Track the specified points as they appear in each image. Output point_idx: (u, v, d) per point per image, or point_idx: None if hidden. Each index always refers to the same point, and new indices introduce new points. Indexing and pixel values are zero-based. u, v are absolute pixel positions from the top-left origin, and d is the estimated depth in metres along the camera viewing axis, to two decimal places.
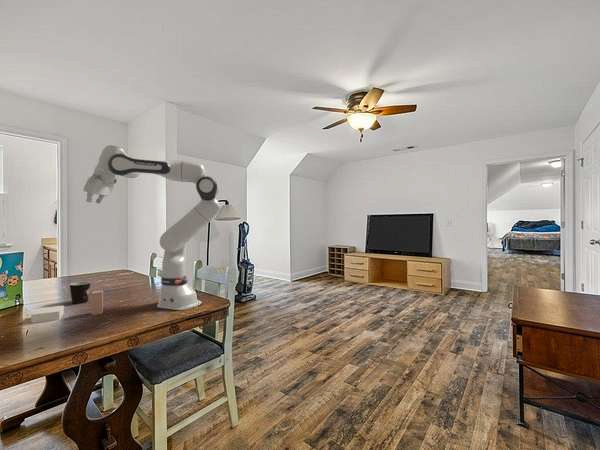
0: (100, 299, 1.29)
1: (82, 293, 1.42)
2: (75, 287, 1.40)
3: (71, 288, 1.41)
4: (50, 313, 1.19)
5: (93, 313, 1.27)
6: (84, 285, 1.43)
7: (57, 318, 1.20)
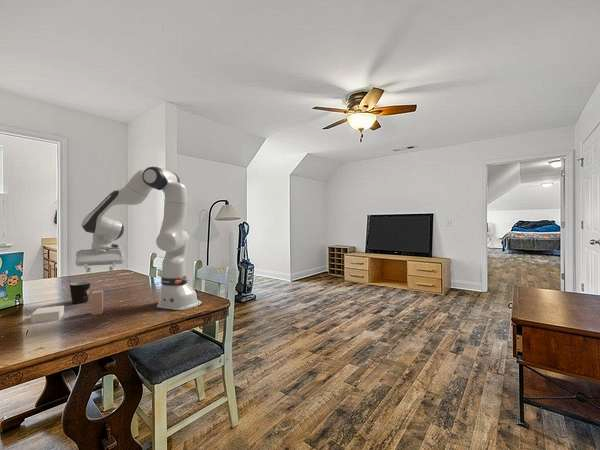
0: (100, 299, 1.29)
1: (82, 293, 1.42)
2: (75, 287, 1.40)
3: (71, 288, 1.41)
4: (49, 313, 1.19)
5: (93, 313, 1.27)
6: (84, 285, 1.43)
7: (57, 318, 1.20)
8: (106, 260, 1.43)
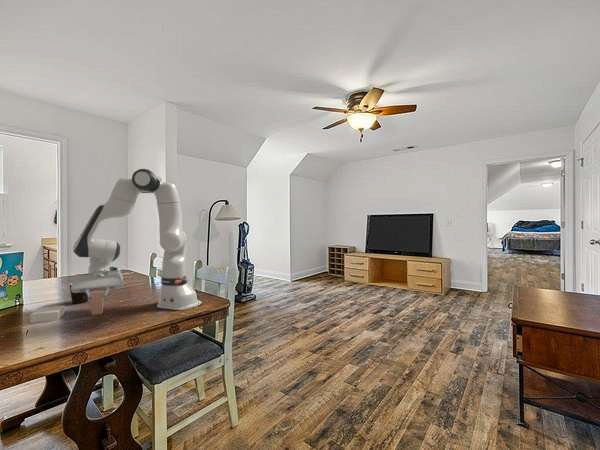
0: (100, 299, 1.29)
1: (82, 293, 1.42)
2: None
3: None
4: (48, 314, 1.19)
5: (93, 313, 1.27)
6: None
7: (56, 318, 1.20)
8: (104, 285, 1.32)
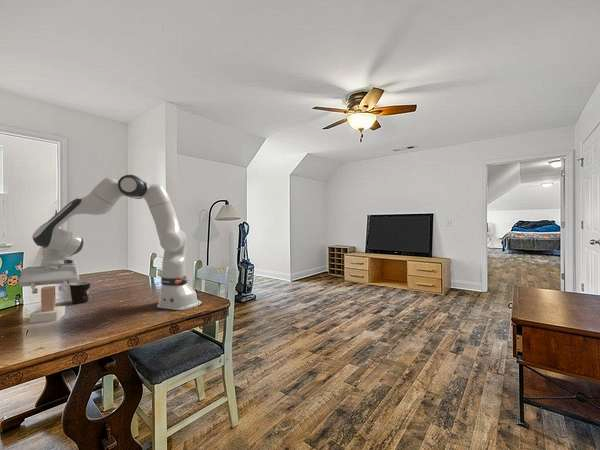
0: (51, 295, 1.21)
1: (82, 293, 1.42)
2: (75, 287, 1.40)
3: (71, 288, 1.41)
4: (47, 314, 1.18)
5: (43, 310, 1.20)
6: (84, 285, 1.43)
7: (54, 319, 1.19)
8: (56, 279, 1.25)
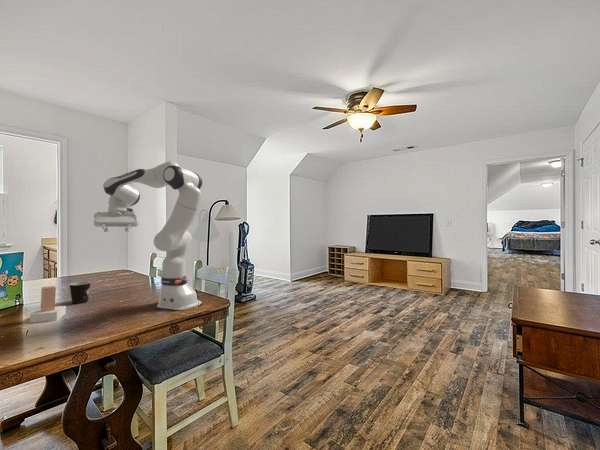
0: (53, 294, 1.22)
1: (82, 293, 1.42)
2: (75, 287, 1.40)
3: (71, 288, 1.41)
4: (47, 314, 1.19)
5: (44, 310, 1.20)
6: (84, 285, 1.43)
7: (55, 319, 1.20)
8: (122, 222, 1.52)
